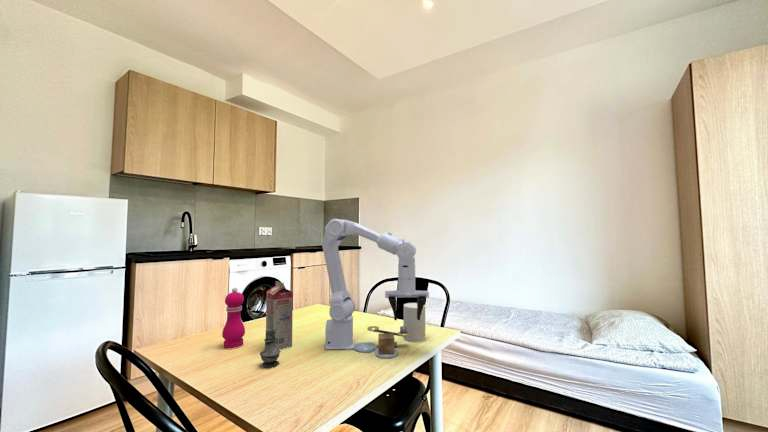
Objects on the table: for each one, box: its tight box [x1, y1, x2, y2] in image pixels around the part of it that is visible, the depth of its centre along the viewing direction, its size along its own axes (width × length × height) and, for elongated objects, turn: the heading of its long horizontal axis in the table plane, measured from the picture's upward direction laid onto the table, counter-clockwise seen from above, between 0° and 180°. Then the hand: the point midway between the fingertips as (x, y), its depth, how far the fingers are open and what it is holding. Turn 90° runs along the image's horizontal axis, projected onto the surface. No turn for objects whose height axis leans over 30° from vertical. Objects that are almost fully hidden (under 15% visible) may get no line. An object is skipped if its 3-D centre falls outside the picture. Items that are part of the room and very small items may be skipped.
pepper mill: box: [221, 287, 246, 349], centre depth 109 cm, size 7×7×20 cm
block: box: [377, 333, 396, 355], centre depth 101 cm, size 5×5×5 cm
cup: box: [403, 302, 426, 343], centre depth 117 cm, size 8×8×12 cm
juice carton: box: [265, 280, 294, 350], centre depth 109 cm, size 7×7×22 cm
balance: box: [367, 325, 409, 349], centre depth 108 cm, size 15×4×6 cm, turn 92°
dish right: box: [374, 348, 399, 359], centre depth 101 cm, size 8×8×1 cm
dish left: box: [353, 341, 377, 354], centre depth 106 cm, size 8×8×1 cm
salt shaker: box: [259, 324, 282, 369], centre depth 93 cm, size 6×6×12 cm
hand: (406, 319), depth 104 cm, fingers open, 7 cm apart
